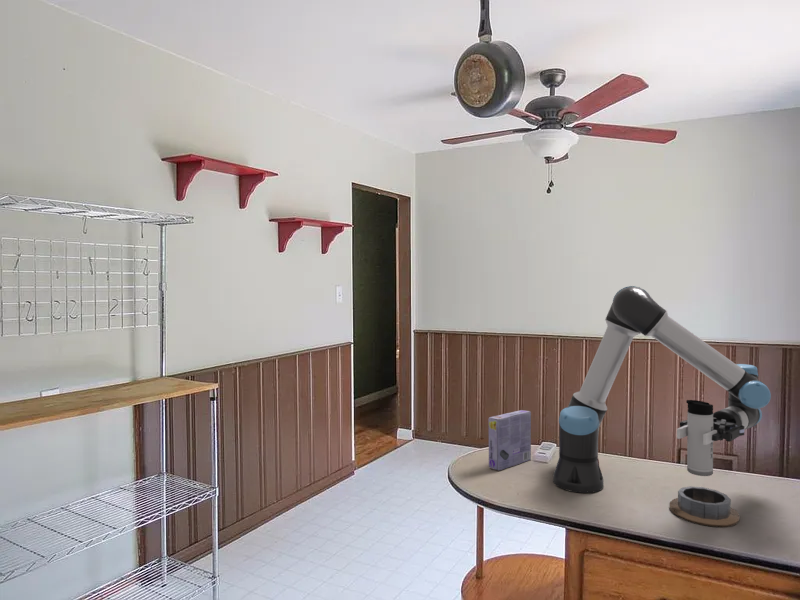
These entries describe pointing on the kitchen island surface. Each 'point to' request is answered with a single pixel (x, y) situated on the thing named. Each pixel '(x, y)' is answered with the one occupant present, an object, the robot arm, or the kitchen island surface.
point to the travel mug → (699, 438)
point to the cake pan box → (509, 439)
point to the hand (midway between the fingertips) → (691, 436)
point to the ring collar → (704, 507)
